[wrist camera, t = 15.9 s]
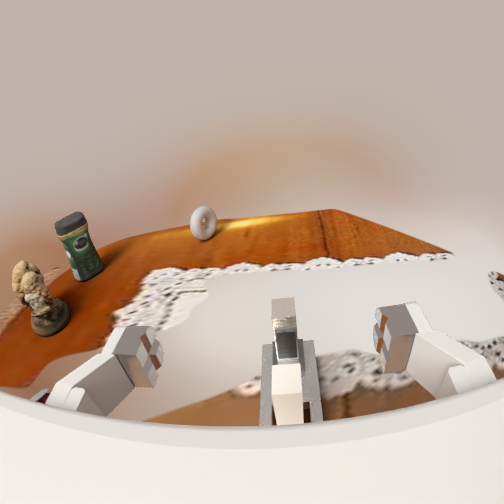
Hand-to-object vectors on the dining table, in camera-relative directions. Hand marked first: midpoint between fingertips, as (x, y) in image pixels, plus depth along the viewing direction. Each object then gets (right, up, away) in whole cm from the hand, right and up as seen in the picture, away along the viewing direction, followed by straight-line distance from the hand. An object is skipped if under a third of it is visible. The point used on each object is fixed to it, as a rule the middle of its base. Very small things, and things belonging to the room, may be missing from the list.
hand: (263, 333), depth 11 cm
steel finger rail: (+5, -17, +30) cm, 35 cm away
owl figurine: (-50, -14, +54) cm, 75 cm away
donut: (-14, +7, +82) cm, 83 cm away
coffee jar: (-48, -4, +73) cm, 87 cm away
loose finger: (+5, -20, +25) cm, 32 cm away
